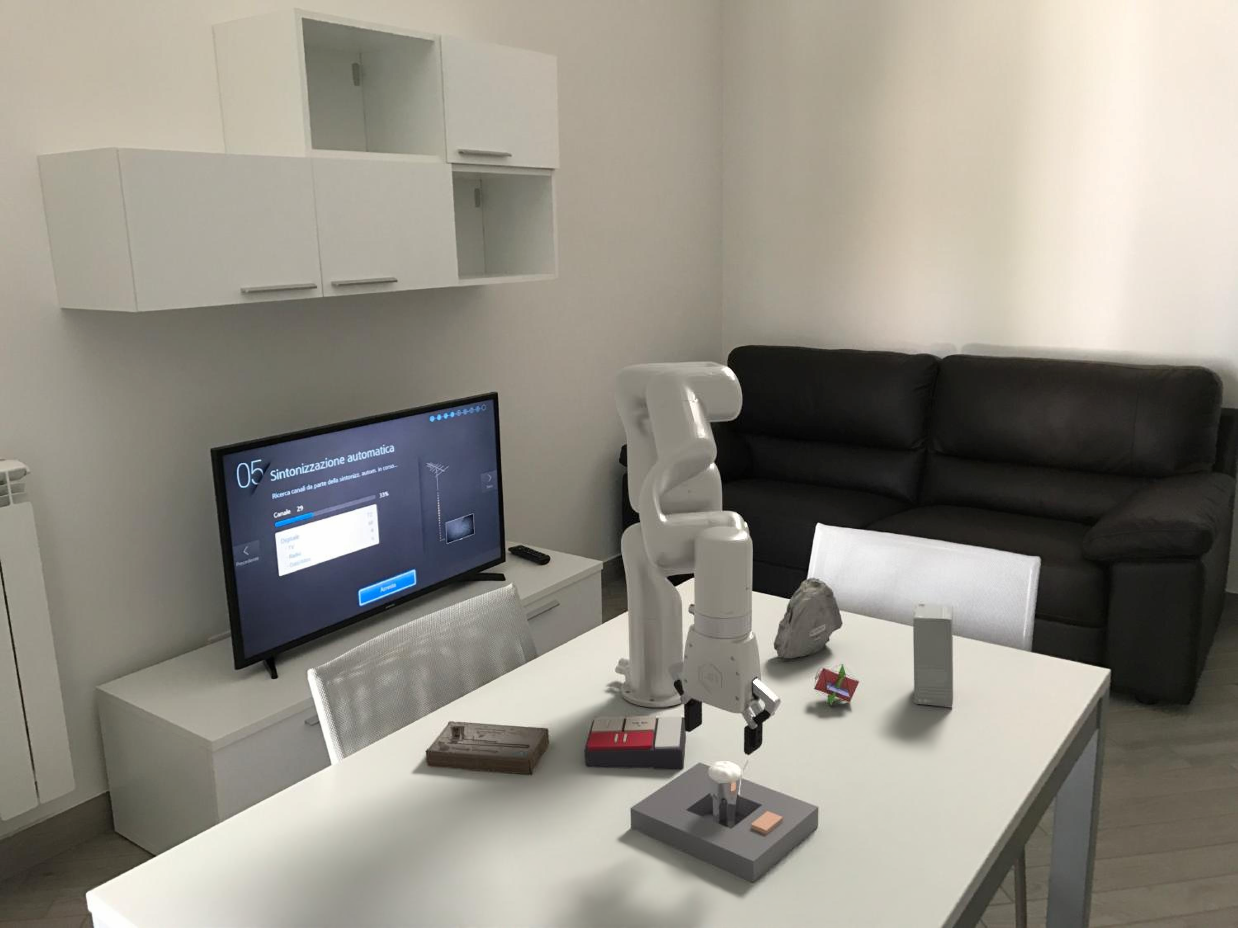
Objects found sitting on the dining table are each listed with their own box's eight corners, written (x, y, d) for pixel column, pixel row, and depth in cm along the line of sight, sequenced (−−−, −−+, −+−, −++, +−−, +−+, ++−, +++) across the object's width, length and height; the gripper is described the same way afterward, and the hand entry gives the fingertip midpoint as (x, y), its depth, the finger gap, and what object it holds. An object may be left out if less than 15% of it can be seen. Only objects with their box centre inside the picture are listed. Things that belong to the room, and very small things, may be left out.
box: (531, 778, 156) (530, 759, 155) (425, 768, 160) (424, 750, 159) (551, 744, 166) (550, 726, 166) (450, 735, 170) (449, 718, 169)
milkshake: (746, 837, 138) (746, 769, 136) (706, 833, 139) (706, 765, 137) (748, 818, 142) (749, 752, 140) (710, 815, 143) (710, 749, 141)
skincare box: (952, 709, 174) (956, 621, 171) (908, 704, 176) (912, 617, 173) (953, 688, 182) (957, 604, 179) (911, 684, 184) (915, 600, 181)
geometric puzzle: (864, 682, 180) (837, 648, 179) (869, 699, 174) (841, 664, 173) (831, 704, 182) (804, 671, 181) (835, 722, 175) (807, 687, 174)
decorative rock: (825, 638, 206) (826, 566, 203) (850, 648, 201) (851, 575, 198) (764, 657, 198) (764, 583, 195) (788, 668, 192) (788, 592, 189)
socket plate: (630, 827, 141) (630, 803, 141) (699, 780, 153) (699, 758, 152) (753, 882, 129) (753, 856, 128) (818, 826, 140) (818, 802, 140)
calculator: (592, 714, 168) (684, 712, 166) (594, 738, 169) (686, 736, 167) (583, 747, 157) (681, 744, 156) (585, 772, 158) (683, 771, 157)
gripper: (653, 614, 137) (655, 730, 142) (763, 647, 127) (761, 771, 131) (687, 597, 143) (687, 709, 147) (795, 627, 132) (792, 748, 136)
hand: (722, 738), depth 139 cm, fingers open, 9 cm apart
